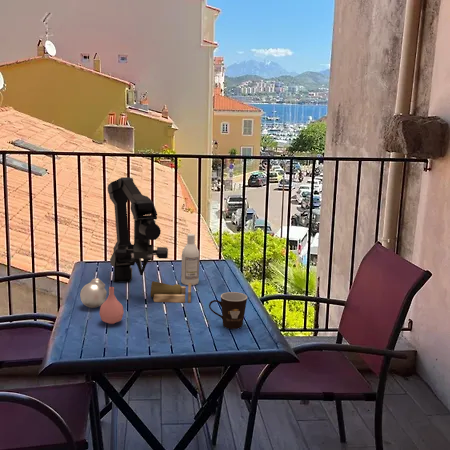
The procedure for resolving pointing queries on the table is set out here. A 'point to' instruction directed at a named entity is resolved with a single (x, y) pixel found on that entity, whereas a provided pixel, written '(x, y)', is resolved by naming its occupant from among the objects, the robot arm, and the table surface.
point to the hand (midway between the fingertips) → (141, 274)
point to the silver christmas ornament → (93, 293)
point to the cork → (164, 288)
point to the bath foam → (190, 262)
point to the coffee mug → (232, 309)
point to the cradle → (174, 296)
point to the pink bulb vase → (111, 309)
